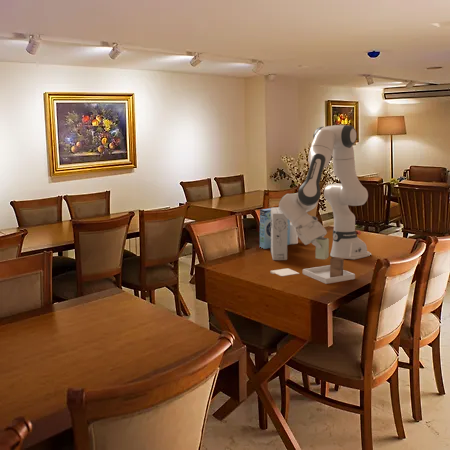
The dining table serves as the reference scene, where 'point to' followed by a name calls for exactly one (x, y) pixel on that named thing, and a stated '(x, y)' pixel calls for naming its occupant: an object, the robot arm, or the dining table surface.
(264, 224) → the light blue carton
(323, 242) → the sage box
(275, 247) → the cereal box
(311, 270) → the white tray
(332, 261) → the walnut box
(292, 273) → the pad
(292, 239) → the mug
